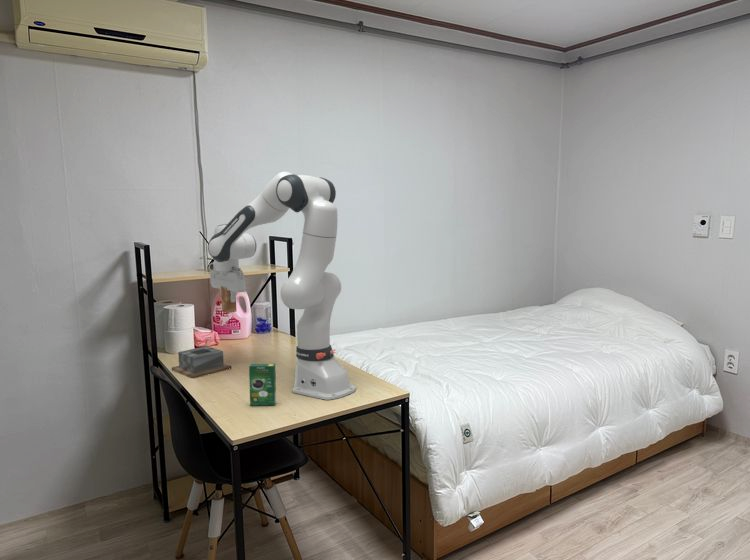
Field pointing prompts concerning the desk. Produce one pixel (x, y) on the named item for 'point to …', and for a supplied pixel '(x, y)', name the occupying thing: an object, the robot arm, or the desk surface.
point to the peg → (227, 301)
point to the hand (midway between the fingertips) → (228, 301)
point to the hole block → (200, 362)
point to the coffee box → (262, 384)
